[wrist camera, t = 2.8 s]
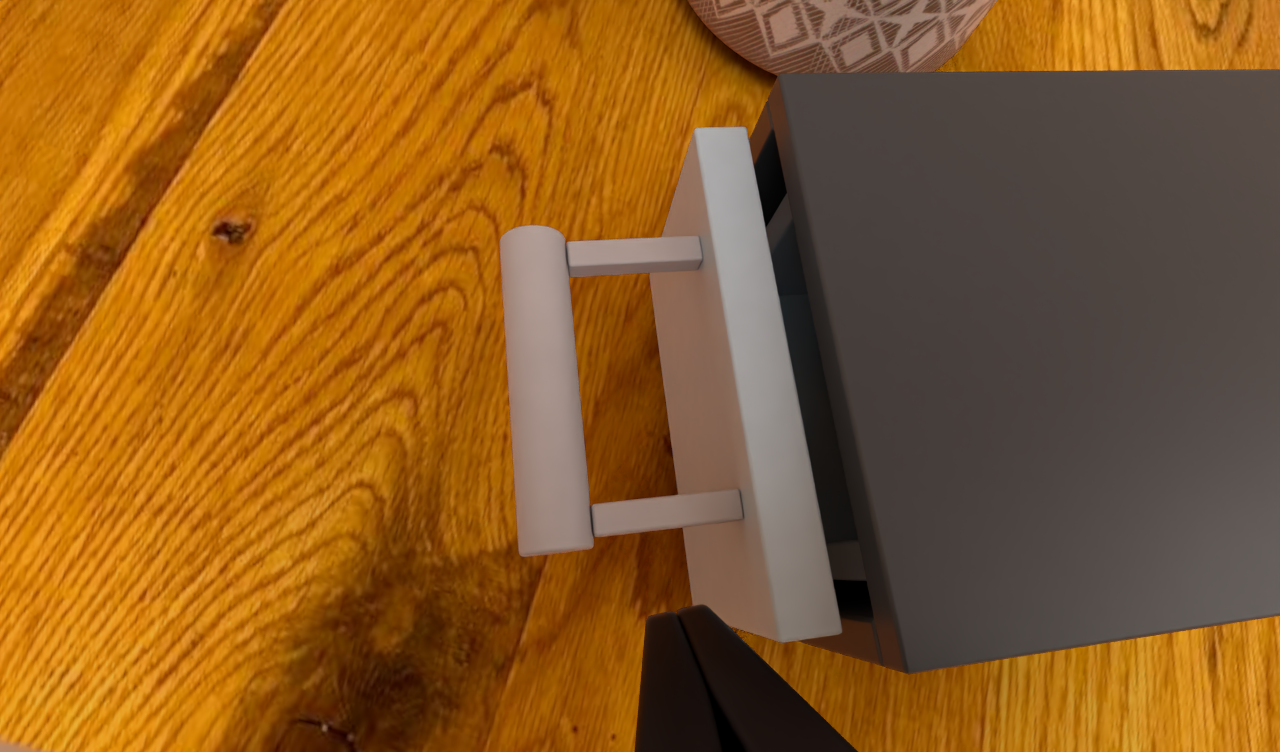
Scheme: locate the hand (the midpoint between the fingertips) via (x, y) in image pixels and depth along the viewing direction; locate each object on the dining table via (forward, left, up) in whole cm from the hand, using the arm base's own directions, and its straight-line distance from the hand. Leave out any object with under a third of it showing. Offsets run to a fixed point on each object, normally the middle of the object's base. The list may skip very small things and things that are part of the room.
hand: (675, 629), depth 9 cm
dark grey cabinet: (+6, -10, -10) cm, 15 cm away
